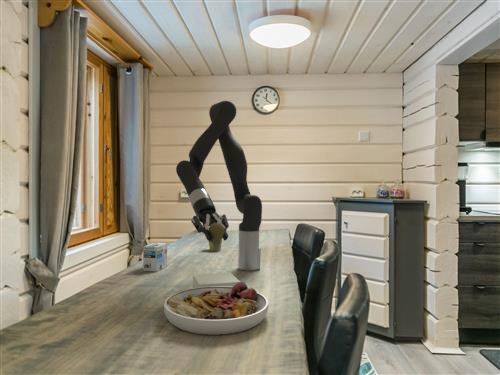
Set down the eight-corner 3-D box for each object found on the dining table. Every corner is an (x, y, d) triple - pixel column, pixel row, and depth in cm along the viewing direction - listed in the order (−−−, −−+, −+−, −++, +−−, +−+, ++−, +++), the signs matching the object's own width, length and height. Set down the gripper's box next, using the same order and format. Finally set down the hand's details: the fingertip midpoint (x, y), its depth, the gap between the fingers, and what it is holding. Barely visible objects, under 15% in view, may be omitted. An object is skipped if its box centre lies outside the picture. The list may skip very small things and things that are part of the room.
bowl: (228, 351, 87) (229, 317, 87) (140, 322, 103) (141, 294, 103) (286, 313, 112) (286, 287, 112) (208, 295, 128) (208, 272, 128)
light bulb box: (157, 272, 158) (157, 247, 157) (142, 271, 159) (142, 246, 159) (167, 266, 168) (167, 242, 168) (153, 265, 169) (154, 242, 169)
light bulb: (208, 249, 133) (208, 221, 133) (223, 249, 134) (224, 221, 134) (207, 252, 128) (208, 223, 128) (224, 252, 128) (224, 223, 128)
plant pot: (226, 250, 209) (227, 234, 209) (216, 252, 201) (216, 236, 201) (213, 248, 214) (214, 233, 214) (203, 250, 206) (203, 235, 206)
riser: (229, 285, 140) (229, 271, 140) (240, 296, 127) (240, 281, 127) (192, 287, 136) (192, 274, 135) (199, 299, 122) (199, 284, 122)
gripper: (188, 197, 132) (205, 234, 123) (222, 196, 141) (240, 231, 132) (181, 210, 136) (197, 248, 127) (214, 209, 145) (231, 244, 136)
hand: (218, 239), depth 129 cm, fingers closed on light bulb, 5 cm apart
